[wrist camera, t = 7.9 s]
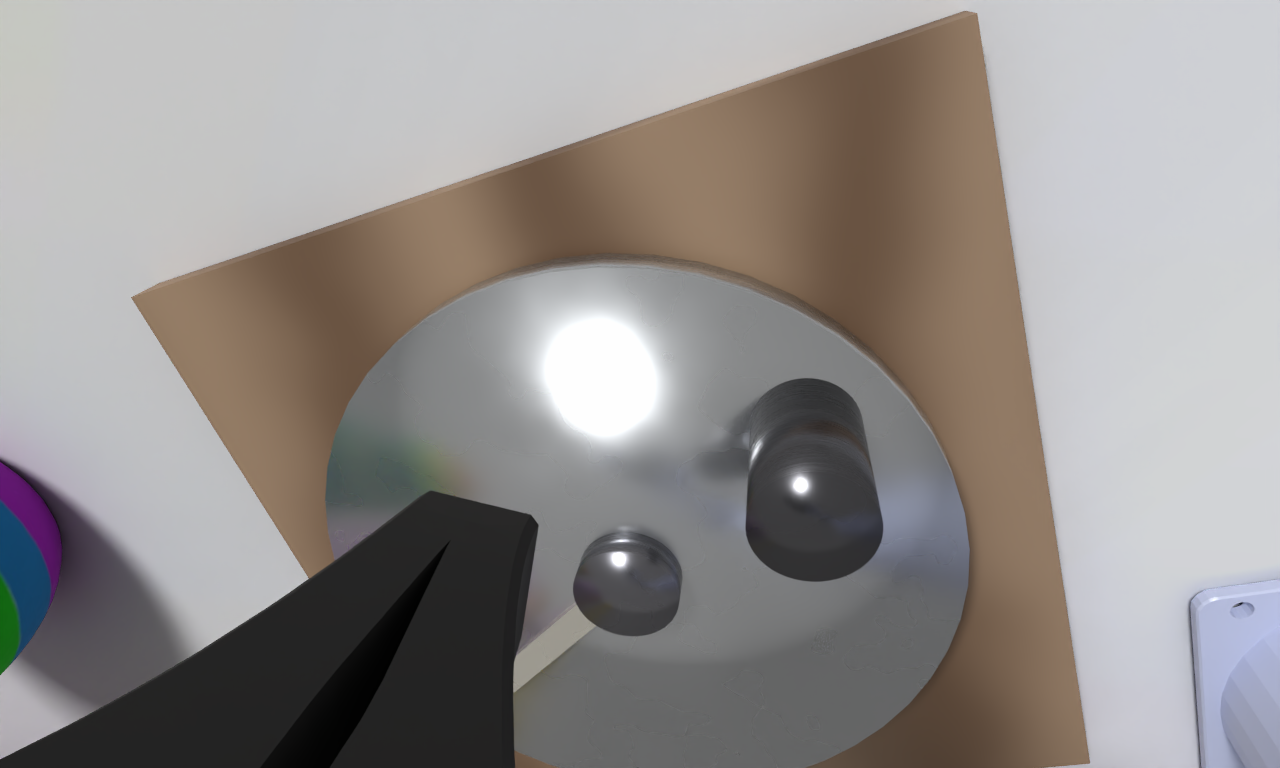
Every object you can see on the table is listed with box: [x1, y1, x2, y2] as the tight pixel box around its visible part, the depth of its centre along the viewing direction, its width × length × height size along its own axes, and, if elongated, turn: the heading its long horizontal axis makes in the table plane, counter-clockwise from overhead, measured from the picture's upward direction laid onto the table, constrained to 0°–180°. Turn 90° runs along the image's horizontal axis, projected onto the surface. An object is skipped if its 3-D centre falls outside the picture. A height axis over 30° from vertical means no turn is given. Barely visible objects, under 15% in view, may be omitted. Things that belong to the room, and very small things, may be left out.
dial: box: [325, 253, 970, 768], centre depth 19 cm, size 16×16×5 cm
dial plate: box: [131, 11, 1090, 768], centre depth 20 cm, size 20×20×4 cm
